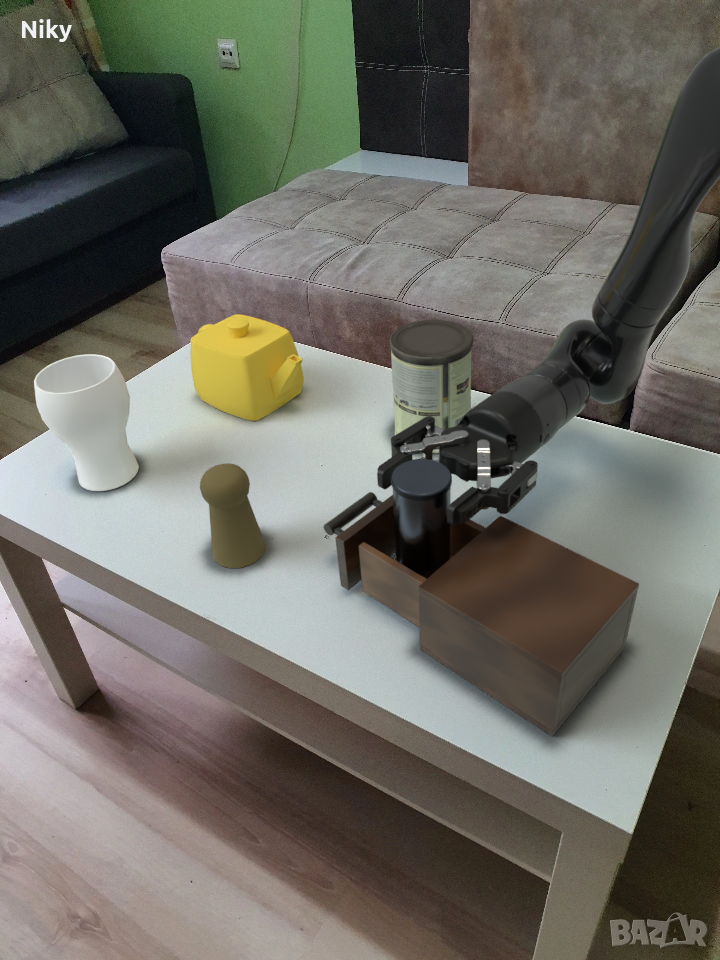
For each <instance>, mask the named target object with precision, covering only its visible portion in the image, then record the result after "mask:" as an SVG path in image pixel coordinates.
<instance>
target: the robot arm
mask: <svg viewBox="0 0 720 960" xmlns="http://www.w3.org/2000/svg"><path fill="white" fill-rule="evenodd" d="M719 179H720V46H718V47H716V48H714V49H713V50H711V51H710V52H708V53H706V55H704V56H703V57H702V58H701V59H700V60H699V61H698V62H697V64H696V65H695V66H694V67H693V69H692V70H691V71H690V73H689V75H688V76H687V78H686V80H685V82H684V84H683V85H682V87H681V90H680V92H679V94H678V97H677V99H676V101H675V103H674V106H673V109H672V111H671V114H670V117H669V119H668V122H667V125H666V128H665V131H664V134H663V137H662V140H661V143H660V145H659V148H658V151H657V154H656V158H655V160H654V162H653V166H652V169H651V171H650V175H649V177H648V180H647V183H646V186H645V188H644V192H643V196H642V198H641V201H640V205H639V207H638V210H637V212H636V216H635V219H634V220H633V221H634V222H633V224H632V227H631V229H630V232H629V234H628V236H627V238H626V241H625V243H624V245H623V247H622V249H621V251H620V252H619V255H618V257H617V258H616V260H615V262H614V264H613V266H612V267H611V269H610V271H609V273H608V275H607V277H606V278H605V279H604V282H603V284H602V286H601V287H600V289H599V291H598V293H597V295H596V296H595V299H594V301H593V303H592V307H591V315H592V319H593V320H591V319H578V320H574V321H571V322H570V323H569V324H567V325H566V326H565V327H564V328H563V329H562V330H561V332H560V333H559V334H558V336H557V337H556V339H555V340H554V342H553V344H552V346H551V348H550V350H549V351H548V353H547V354H546V355H545V357H544V358H543V359H541V361H540V362H539V363H538V364H537V365H535V367H533V368H532V369H531V370H529V371H528V372H526V373H525V374H523V375H522V376H521V377H519V378H516V379H515V380H512V381H511V382H508V383H506V384H505V385H503V386H502V387H500V388H499V389H497V390H496V391H495V392H494V393H492V394H490V396H487V398H485V399H484V400H482V401H480V402H479V403H478V404H476V405H475V406H473V407H471V408H470V410H469V411H468V412H467V413H466V414H465V416H464V417H463V418H462V420H461V421H460V422H459V424H458V425H457V426H455V427H451V428H447V429H445V430H444V429H442V428H440V427H438V426H436V425H435V418H434V417H431V416H428V417H425V418H423V419H422V420H420V421H418V422H417V423H415V424H413V425H412V426H410V427H408V428H407V429H405V430H403V431H401V432H400V433H398V434H396V435H395V434H394V435H393V436H392V437H391V438H390V447H391V449H390V450H391V457H390V458H389V459H387V460H386V461H384V462H383V463H381V464H380V465H379V466H378V467H377V473H376V478H377V487H379V488H381V489H383V490H387V489H389V488H390V487H392V485H391V475H392V473H393V471H394V470H395V469H396V468H397V467H398V466H399V465H401V464H403V463H405V462H407V461H411V460H416V459H417V458H415V459H413V455H420V454H422V457H420V458H419V459H428V460H433V461H436V462H439V463H441V464H443V465H444V466H446V467H447V468H448V469H449V471H450V472H451V475H454V476H456V477H458V478H459V479H460V480H462V481H464V482H466V483H468V482H470V481H471V482H475V483H476V487H474V486H470V488H468V489H467V490H466V491H465V492H463V493H462V494H461V495H460V496H458V497H457V498H456V499H454V500H453V501H452V502H451V504H450V505H449V506H448V508H447V523H449V524H451V525H453V526H456V525H457V524H459V523H461V524H462V523H465V522H467V521H468V520H471V519H472V518H473V517H475V515H476V516H477V514H478V513H479V512H480V511H483V510H488V509H490V508H492V509H496V513H498V514H501V515H507V514H509V513H510V512H511V511H512V510H513V509H514V508H515V507H516V506H517V505H518V504H519V503H520V502H521V501H522V500H524V498H525V497H526V496H527V495H529V493H530V492H531V491H532V490H534V488H535V487H536V485H537V479H538V465H539V463H538V462H537V461H535V460H528V459H529V458H530V457H531V456H533V455H534V454H535V453H536V452H537V451H539V449H541V448H542V447H544V446H545V445H546V444H547V443H548V442H549V441H550V440H552V439H553V437H555V435H556V434H557V433H558V431H560V430H561V429H562V428H563V427H564V426H566V425H567V424H568V423H570V422H571V420H573V419H574V418H575V417H576V416H578V415H579V414H580V413H582V411H583V410H584V409H585V407H586V406H587V405H588V403H589V401H590V398H591V399H592V400H594V401H595V402H596V403H598V404H603V405H610V404H611V405H612V404H615V403H618V402H621V401H622V400H624V399H625V398H627V396H628V395H630V394H631V393H632V391H633V390H634V389H635V387H636V386H637V384H638V382H639V381H640V378H641V375H642V373H643V369H644V366H645V362H646V360H647V359H646V358H647V354H648V349H649V346H650V343H651V340H652V338H653V337H652V336H653V334H654V332H655V330H656V327H657V325H658V324H659V322H660V321H661V319H662V318H663V317H664V315H665V313H666V311H667V310H668V309H669V307H670V306H671V304H672V303H673V301H674V300H675V298H676V297H677V295H678V294H679V292H680V290H681V288H682V287H683V284H684V282H685V280H686V277H687V274H688V271H689V268H690V264H691V263H690V262H691V254H692V253H691V251H692V238H691V237H692V227H693V222H694V218H695V215H696V213H697V211H698V209H699V207H700V205H701V204H702V202H703V201H704V199H705V198H706V196H707V195H708V193H709V192H710V191H711V190H712V188H713V186H715V185H716V183H717V182H718V180H719ZM405 442H406V444H404V443H405ZM436 447H439V453H438V459H433V453H432V451H433V449H434V448H436ZM507 476H509V477H508V478H507V479H506V480H504V482H503V483H501V484H500V486H498V487H494V486H492V479H496V478H503V477H507Z"/></svg>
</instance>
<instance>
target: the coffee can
mask: <svg viewBox="0 0 720 960" xmlns="http://www.w3.org/2000/svg"><path fill="white" fill-rule="evenodd" d="M388 343H389V348H390V359H391V378H392V379H391V380H392V397H393V398H392V399H393V414H394V436H395V435H396V434H398V433H400V432H401V431H403V430H405V429H407V428H408V427H410V426H412V425H413V424H415V423H417V422H418V421H420V420H422V419H423V418H425V417H428V416H431V417H434V418H435V425H436V426H438V427H440V428H442V429H444V430H445V429H447V428H451V427H455V426H457V425H458V424H459V422H460V421H461V420H462V418H463V417H464V416H465V414H466V413H467V412H468V411H469V410H471V409H472V407H471V403H472V398H471V397H472V371H473V370H472V363H473V362H472V359H473V357H472V356H473V353H472V352H473V344H474V335H473V333H472V331H471V330H470V329H469V328H468V327H466V326H464V325H462V324H461V323H458V322H455V321H451V320H446V319H445V320H444V319H424V320H417V321H413V322H409V323H406V324H404V325H401V326H400V327H398V328H396V329H395V330H394V331H393V332H392V333H391V335H390V337H389V342H388ZM404 444H406V442H405V443H404ZM432 454H439V447H436V448H434V449H433V451H432Z"/></svg>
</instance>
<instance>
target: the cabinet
mask: <svg viewBox="0 0 720 960" xmlns="http://www.w3.org/2000/svg"><path fill="white" fill-rule="evenodd" d="M639 587H640V583H639V582H636V581H635V580H632V579H631V578H629V577H627V576H624V575H622V574H621V573H619V572H617V571H615V570H612V569H611V568H609V567H606V566H604V565H602V564H600V563H598V562H596V561H594V560H592V559H590V558H588V557H586V556H584V555H582V554H580V553H578V552H576V551H574V550H572V549H570V548H567V547H566V546H563V545H562V544H559V543H557V542H556V541H554V540H551V539H550V538H547V537H545V536H543V535H541V534H539V533H537V532H535V531H533V530H530V529H529V528H527V527H524V526H523V525H521V524H518V523H517V522H514V521H513V520H511V519H509V518H506V517H505V516H502V515H500V516H498V517H497V518H495V519H494V520H493V521H492V522H491V523H490V524H489V525H488V526H486V528H485V529H484V530H483V531H482V532H481V533H480V534H479V535H477V536H476V537H475V538H474V539H473V540H472V541H470V542H469V543H468V544H467V545H466V546H465V547H464V548H462V549H461V550H460V551H459V552H458V553H457V554H455V555H454V556H453V557H452V558H451V559H450V560H449V561H447V562H446V563H445V564H444V565H443V566H442V567H440V568H439V569H438V570H437V571H436V572H435V573H434V574H432V575H431V576H430V577H429V578H428V579H427V580H425V581H424V582H423V583H422V584H421V585H420V586H419V587H418V592H419V627H418V628H419V650H420V651H422V652H423V653H425V654H426V655H428V656H429V657H431V658H433V659H434V661H437V662H438V663H440V664H442V665H443V666H445V667H446V668H447V669H449V670H450V671H452V672H453V673H455V674H457V675H458V676H460V677H461V678H463V679H464V680H466V681H467V682H469V683H470V684H472V685H473V686H475V687H476V688H478V689H480V690H481V691H482V692H483V693H485V694H487V695H488V696H490V697H491V698H493V699H494V700H495V701H497V702H499V703H500V704H502V705H503V706H505V707H506V708H508V709H509V710H511V711H513V712H514V713H516V714H517V715H519V716H520V717H522V718H523V719H525V720H526V721H527V722H529V723H531V724H532V725H534V726H535V727H537V728H538V729H540V730H541V731H543V732H544V733H546V734H547V735H549V736H550V737H553V736H554V735H555V734H556V733H557V731H559V729H560V728H561V726H562V725H563V724H565V721H566V720H567V719H568V718H569V717H570V715H571V714H572V713H573V712H574V710H575V709H576V708H577V707H578V706H579V705H580V703H581V702H582V701H583V699H584V698H585V697H586V696H587V695H588V694H589V692H590V691H591V690H592V689H593V687H594V686H595V685H596V684H597V682H598V681H599V680H600V679H601V677H602V676H603V675H604V674H605V673H606V672H607V671H608V669H609V668H610V666H611V665H612V664H613V663H614V662H615V660H616V659H617V658H618V657H619V655H620V654H622V652H623V651H624V649H625V648H626V644H627V640H628V634H629V631H630V626H631V622H632V617H633V614H634V613H633V612H634V608H635V604H636V599H637V597H638V590H639Z"/></svg>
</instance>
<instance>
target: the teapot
mask: <svg viewBox="0 0 720 960" xmlns="http://www.w3.org/2000/svg"><path fill="white" fill-rule="evenodd" d="M302 364H303V358H302V357H300V356H299V353H298V350H297V347H296V344H295V341H294V339H293V336H292V334H291V331H289V330H288V329H287V328H285V327H283V326H280V325H278V324H275V323H273V322H269V321H267V320H264V319H261V318H258V317H254V316H249V315H245V314H238V313H236V314H233V315H231V316H229V317H227V318H223V320H221V321H219V322H217V323H215V324H213V323H207V324H204V325H202V326H200V328H199V329H198V331H197V333H196V334H195V335H193V336H192V337H191V338H190V370H191V378H192V383H193V387H194V390H195V392H196V394H197V396H198V398H200V400H201V401H202V402H204V403H206V404H207V405H209V406H211V407H213V408H215V409H217V410H218V411H221V412H223V413H226V414H229V415H231V416H233V417H237V418H240V419H243V420H245V421H251V422H258V421H260V420H262V419H264V418H265V417H267V416H269V415H270V414H272V413H273V412H275V411H277V410H278V409H280V408H281V407H283V406H284V405H286V404H287V403H289V402H291V400H293V399H294V398H296V397H297V396H299V395H300V394H301V393H302V391H303V386H304V373H303V368H302Z"/></svg>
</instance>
